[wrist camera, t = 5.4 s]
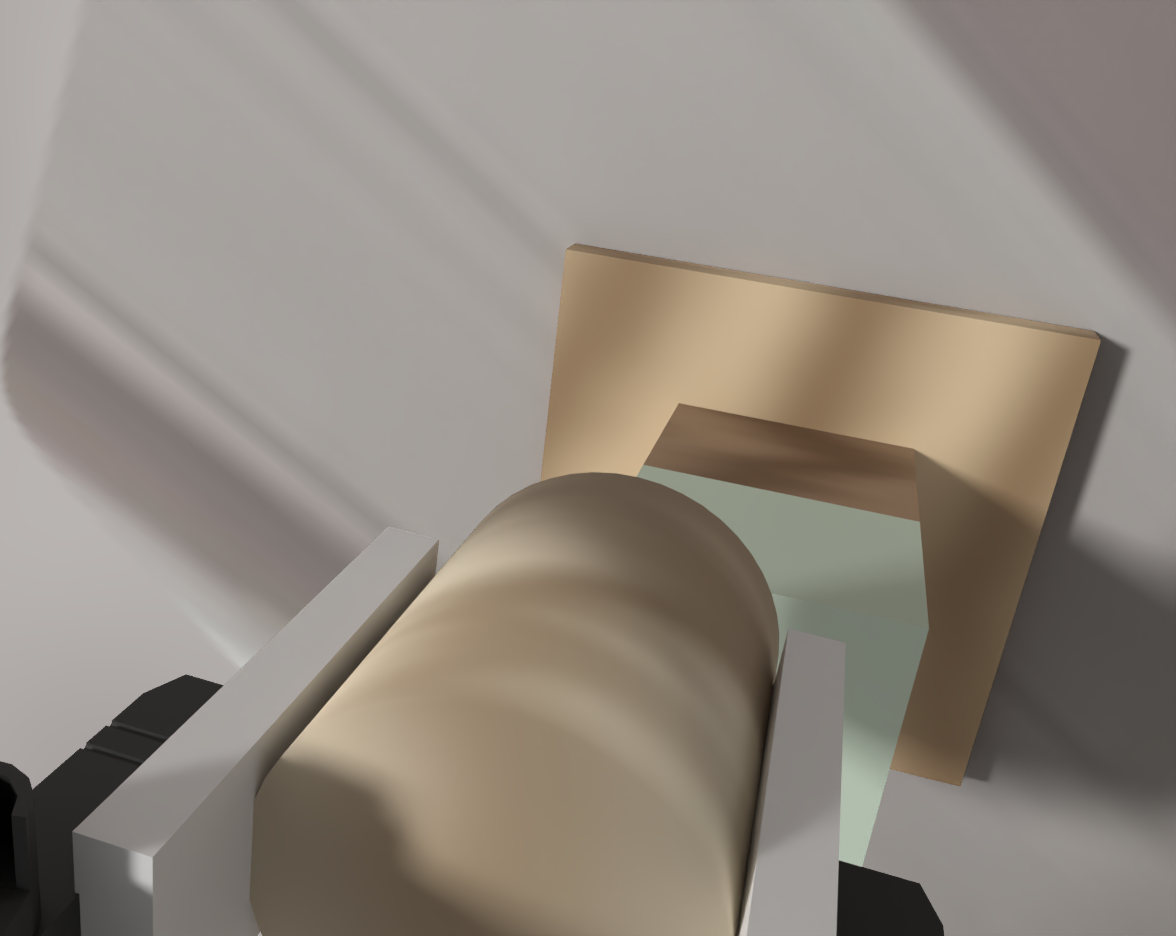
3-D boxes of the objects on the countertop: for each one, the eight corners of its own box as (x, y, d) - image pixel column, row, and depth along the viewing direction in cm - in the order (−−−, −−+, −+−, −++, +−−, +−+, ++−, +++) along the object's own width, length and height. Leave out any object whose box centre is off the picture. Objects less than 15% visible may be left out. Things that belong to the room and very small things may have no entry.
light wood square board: (1094, 330, 28) (1101, 340, 27) (957, 766, 33) (960, 786, 32) (575, 243, 30) (566, 249, 29) (528, 660, 36) (519, 676, 35)
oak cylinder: (816, 519, 14) (788, 789, 9) (739, 809, 16) (677, 1179, 11) (470, 436, 15) (253, 637, 10) (435, 722, 17) (237, 1024, 12)
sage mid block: (919, 521, 24) (928, 628, 20) (858, 752, 27) (854, 894, 22) (643, 465, 25) (592, 552, 21) (609, 690, 28) (557, 813, 23)
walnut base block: (913, 448, 29) (919, 521, 24) (861, 652, 31) (858, 752, 27) (679, 403, 30) (643, 465, 25) (646, 602, 32) (609, 690, 28)
